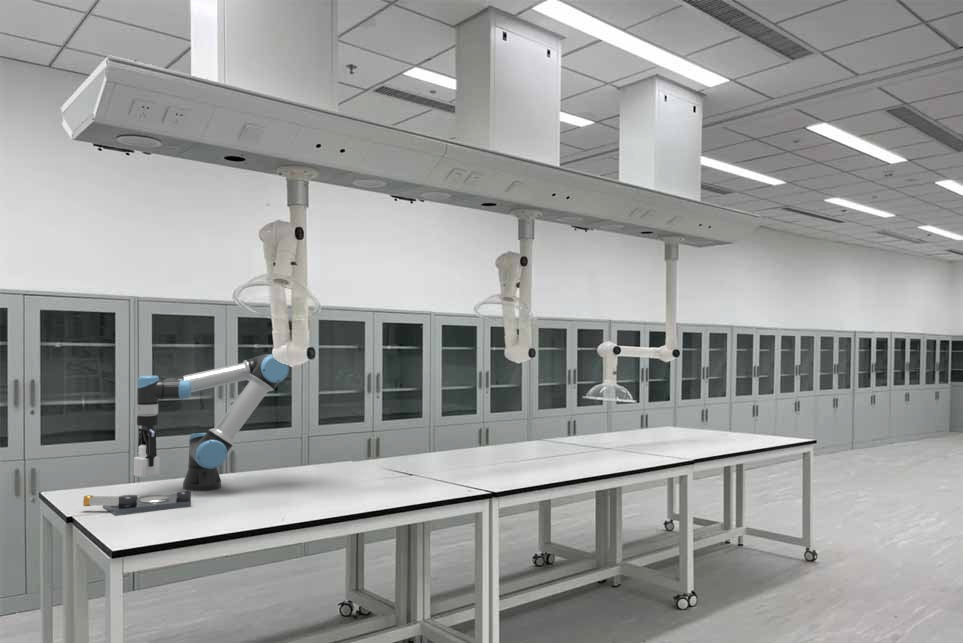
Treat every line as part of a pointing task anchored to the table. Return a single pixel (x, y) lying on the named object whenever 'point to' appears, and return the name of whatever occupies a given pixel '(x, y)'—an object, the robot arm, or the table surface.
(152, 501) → the dark grey base plate
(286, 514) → the table surface
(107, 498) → the ball lever handle
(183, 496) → the knob
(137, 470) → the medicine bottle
